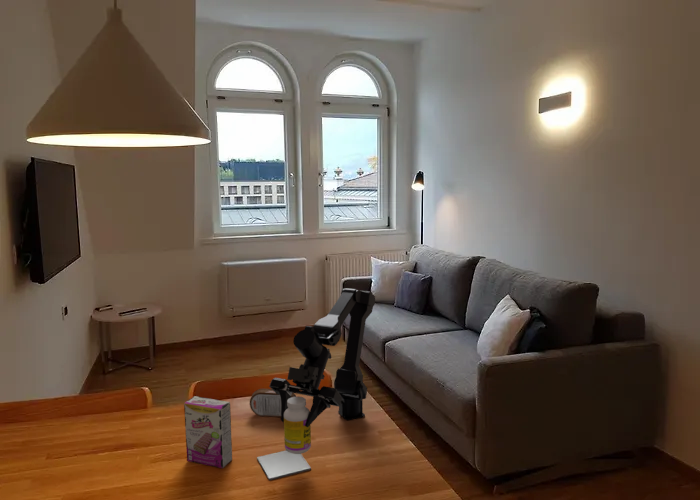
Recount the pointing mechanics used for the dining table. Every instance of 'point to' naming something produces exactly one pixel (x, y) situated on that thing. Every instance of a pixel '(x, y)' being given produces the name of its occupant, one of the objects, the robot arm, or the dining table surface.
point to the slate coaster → (282, 464)
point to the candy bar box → (208, 431)
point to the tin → (266, 403)
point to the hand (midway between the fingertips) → (294, 423)
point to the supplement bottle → (296, 426)
